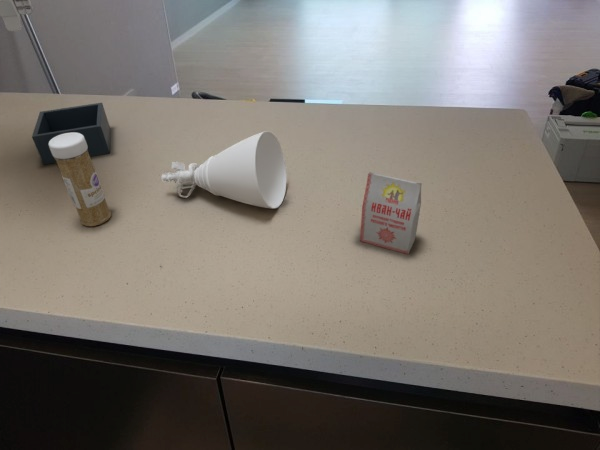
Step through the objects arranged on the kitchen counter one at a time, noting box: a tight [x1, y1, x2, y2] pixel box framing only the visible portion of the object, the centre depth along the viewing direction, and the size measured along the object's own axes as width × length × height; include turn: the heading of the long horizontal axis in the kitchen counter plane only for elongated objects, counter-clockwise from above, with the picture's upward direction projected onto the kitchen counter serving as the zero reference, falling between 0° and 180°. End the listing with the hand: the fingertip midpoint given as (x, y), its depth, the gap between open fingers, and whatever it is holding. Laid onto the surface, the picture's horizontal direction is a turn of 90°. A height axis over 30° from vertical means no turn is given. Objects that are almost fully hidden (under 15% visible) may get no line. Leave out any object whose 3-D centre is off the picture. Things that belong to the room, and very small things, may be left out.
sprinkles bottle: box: [49, 132, 112, 227], centre depth 65 cm, size 5×5×14 cm
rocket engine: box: [160, 130, 288, 210], centre depth 71 cm, size 12×12×18 cm
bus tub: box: [31, 102, 111, 165], centre depth 87 cm, size 12×12×6 cm
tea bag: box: [359, 171, 422, 255], centre depth 60 cm, size 4×7×10 cm, turn 64°
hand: (22, 21), depth 62 cm, fingers open, 8 cm apart
